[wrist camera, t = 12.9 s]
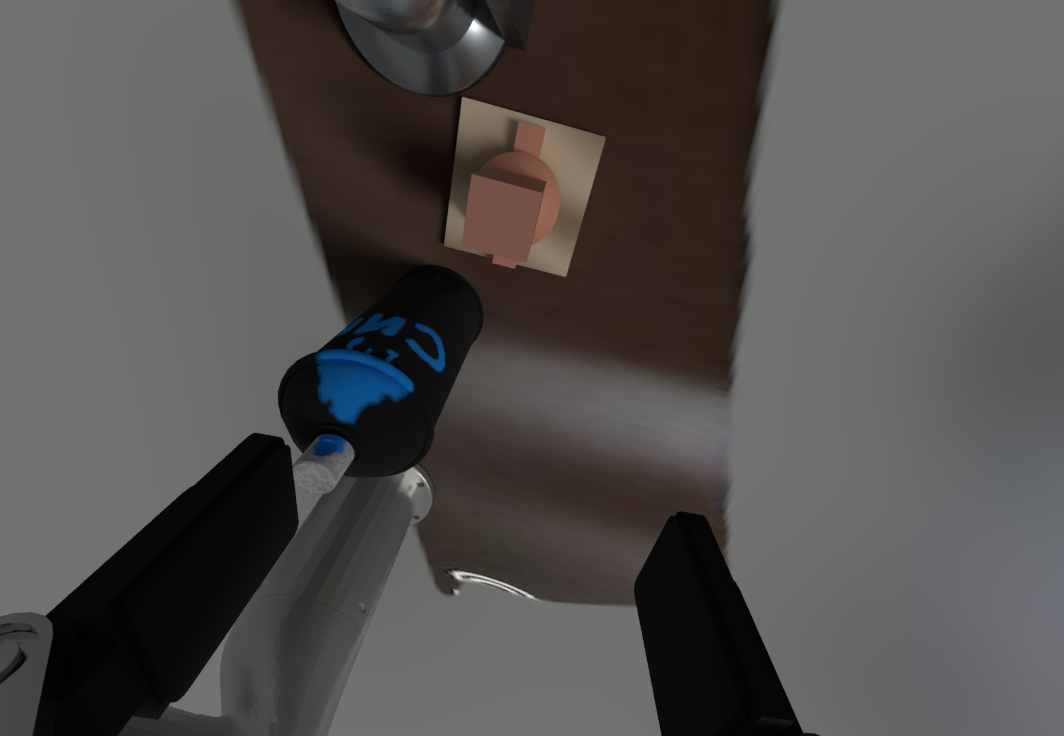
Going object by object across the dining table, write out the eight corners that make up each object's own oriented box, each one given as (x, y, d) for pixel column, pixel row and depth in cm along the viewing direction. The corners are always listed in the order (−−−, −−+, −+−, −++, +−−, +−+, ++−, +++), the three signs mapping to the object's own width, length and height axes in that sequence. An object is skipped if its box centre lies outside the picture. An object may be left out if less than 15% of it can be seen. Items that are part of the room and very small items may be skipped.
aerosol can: (476, 362, 37) (401, 555, 19) (389, 342, 36) (231, 522, 19) (490, 277, 33) (412, 425, 15) (392, 255, 32) (195, 379, 15)
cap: (488, 113, 26) (453, 94, 18) (576, 137, 27) (585, 131, 18) (467, 252, 31) (431, 292, 22) (542, 272, 31) (536, 319, 23)
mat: (565, 274, 32) (565, 276, 31) (445, 244, 31) (444, 245, 31) (605, 137, 27) (606, 137, 27) (464, 97, 26) (462, 96, 26)
